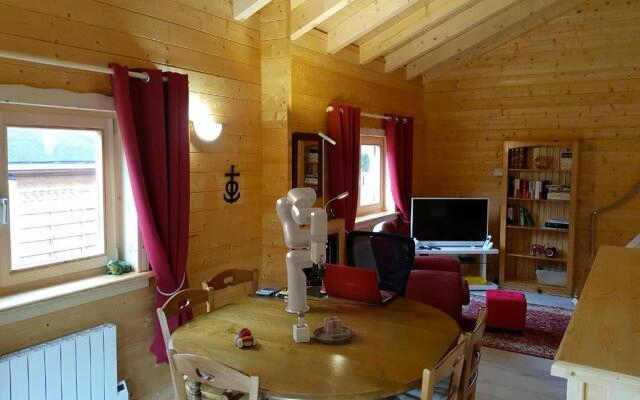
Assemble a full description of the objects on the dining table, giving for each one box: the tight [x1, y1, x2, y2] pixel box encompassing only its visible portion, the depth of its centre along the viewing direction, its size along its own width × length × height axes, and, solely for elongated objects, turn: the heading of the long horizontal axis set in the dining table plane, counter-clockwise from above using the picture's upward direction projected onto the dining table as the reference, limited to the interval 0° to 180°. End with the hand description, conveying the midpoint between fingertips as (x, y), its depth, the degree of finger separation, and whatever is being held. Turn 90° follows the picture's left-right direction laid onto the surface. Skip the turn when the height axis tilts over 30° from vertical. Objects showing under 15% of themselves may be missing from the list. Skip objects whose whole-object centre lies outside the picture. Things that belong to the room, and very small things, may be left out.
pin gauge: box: [297, 311, 305, 328], centre depth 233 cm, size 3×3×12 cm
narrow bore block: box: [323, 315, 342, 335], centre depth 235 cm, size 6×6×6 cm
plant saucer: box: [312, 325, 354, 345], centre depth 235 cm, size 18×18×3 cm
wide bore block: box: [292, 323, 311, 343], centre depth 233 cm, size 6×6×6 cm
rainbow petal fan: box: [233, 327, 258, 348], centre depth 228 cm, size 8×10×7 cm
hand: (318, 274), depth 242 cm, fingers open, 9 cm apart
